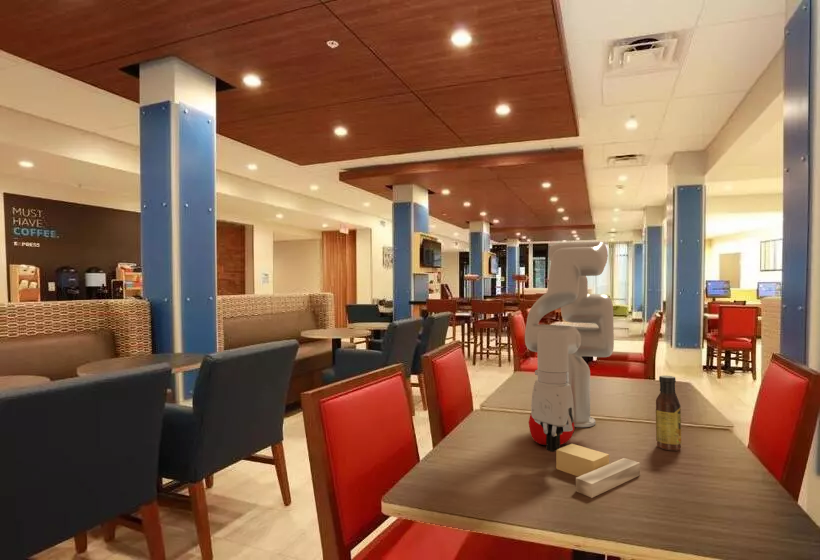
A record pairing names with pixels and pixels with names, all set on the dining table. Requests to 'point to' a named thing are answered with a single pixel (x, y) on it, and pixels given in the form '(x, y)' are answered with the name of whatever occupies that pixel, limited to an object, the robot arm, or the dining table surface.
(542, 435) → the tomato
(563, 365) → the robot arm
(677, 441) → the sauce bottle
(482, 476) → the dining table surface
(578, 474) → the block
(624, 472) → the pale grey bar
